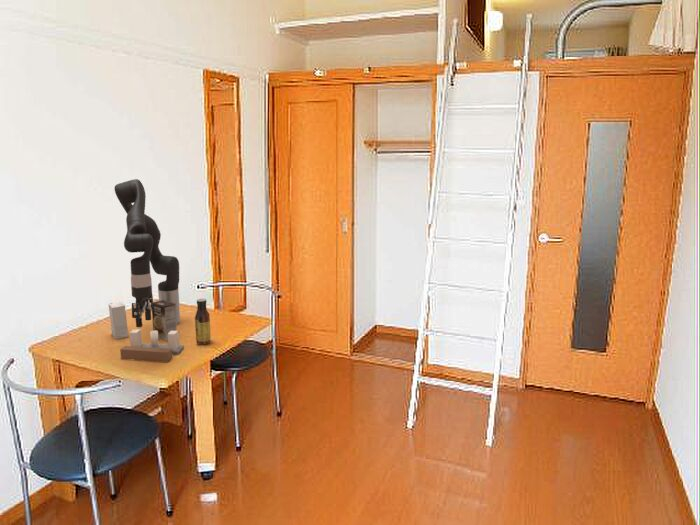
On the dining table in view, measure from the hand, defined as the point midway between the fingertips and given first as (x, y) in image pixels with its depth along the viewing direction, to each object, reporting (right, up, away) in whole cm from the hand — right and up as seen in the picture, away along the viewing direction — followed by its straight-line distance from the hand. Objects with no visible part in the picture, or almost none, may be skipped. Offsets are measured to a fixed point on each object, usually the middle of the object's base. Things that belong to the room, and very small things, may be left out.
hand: (143, 323), depth 214 cm
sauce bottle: (+18, -11, +22) cm, 30 cm away
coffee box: (-1, -10, +27) cm, 29 cm away
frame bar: (0, -15, +3) cm, 15 cm away
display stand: (0, -13, +12) cm, 17 cm away
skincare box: (-22, -9, +28) cm, 37 cm away
